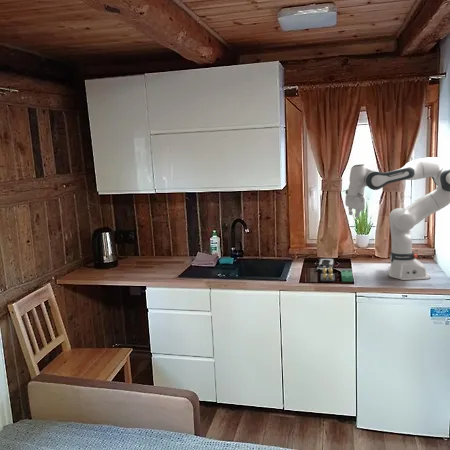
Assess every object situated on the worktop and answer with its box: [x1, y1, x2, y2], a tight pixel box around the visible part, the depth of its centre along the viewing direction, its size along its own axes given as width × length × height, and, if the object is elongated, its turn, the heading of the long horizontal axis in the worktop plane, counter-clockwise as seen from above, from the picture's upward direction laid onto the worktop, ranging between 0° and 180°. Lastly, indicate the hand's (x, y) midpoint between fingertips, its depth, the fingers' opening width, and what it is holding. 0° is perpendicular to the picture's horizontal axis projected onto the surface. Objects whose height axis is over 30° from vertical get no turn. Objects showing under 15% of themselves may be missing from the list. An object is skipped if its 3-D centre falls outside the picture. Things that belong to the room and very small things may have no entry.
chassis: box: [320, 267, 336, 282], centre depth 273 cm, size 8×13×5 cm, turn 168°
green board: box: [340, 270, 354, 282], centre depth 271 cm, size 6×14×2 cm, turn 168°
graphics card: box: [315, 258, 335, 273], centre depth 298 cm, size 10×3×25 cm
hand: (353, 216), depth 269 cm, fingers open, 8 cm apart
